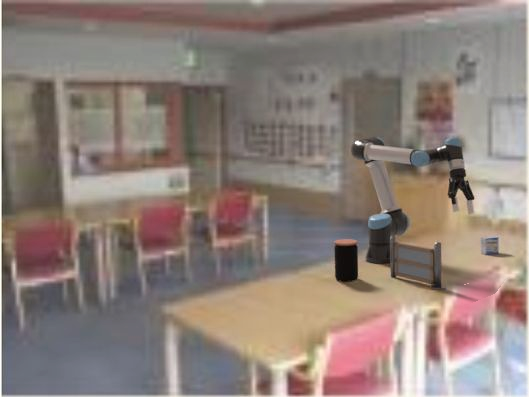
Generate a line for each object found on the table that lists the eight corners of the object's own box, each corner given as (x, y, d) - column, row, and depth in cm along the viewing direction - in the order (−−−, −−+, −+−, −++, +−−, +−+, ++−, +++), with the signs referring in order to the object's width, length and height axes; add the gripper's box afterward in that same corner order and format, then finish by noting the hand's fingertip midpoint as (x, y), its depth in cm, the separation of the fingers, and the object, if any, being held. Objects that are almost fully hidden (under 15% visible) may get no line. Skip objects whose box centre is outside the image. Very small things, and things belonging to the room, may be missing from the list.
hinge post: (430, 289, 303) (430, 244, 300) (431, 285, 309) (430, 241, 306) (445, 289, 301) (444, 244, 299) (445, 286, 307) (444, 241, 304)
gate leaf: (436, 283, 307) (435, 249, 305) (433, 284, 306) (433, 249, 304) (397, 274, 326) (396, 241, 323) (394, 275, 325) (394, 242, 322)
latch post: (390, 277, 326) (389, 237, 323) (390, 276, 328) (390, 236, 326) (395, 277, 325) (395, 237, 323) (396, 276, 328) (395, 236, 325)
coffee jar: (343, 275, 334) (342, 238, 331) (362, 278, 327) (361, 240, 324) (330, 280, 325) (329, 242, 323) (350, 283, 319) (349, 244, 316)
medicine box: (485, 255, 363) (485, 238, 362) (480, 253, 368) (480, 237, 366) (498, 253, 365) (498, 237, 364) (493, 251, 370) (493, 235, 368)
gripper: (449, 164, 326) (456, 208, 321) (477, 170, 343) (484, 212, 338) (436, 168, 331) (442, 211, 326) (464, 174, 348) (470, 216, 343)
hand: (463, 212), depth 332 cm, fingers open, 13 cm apart
